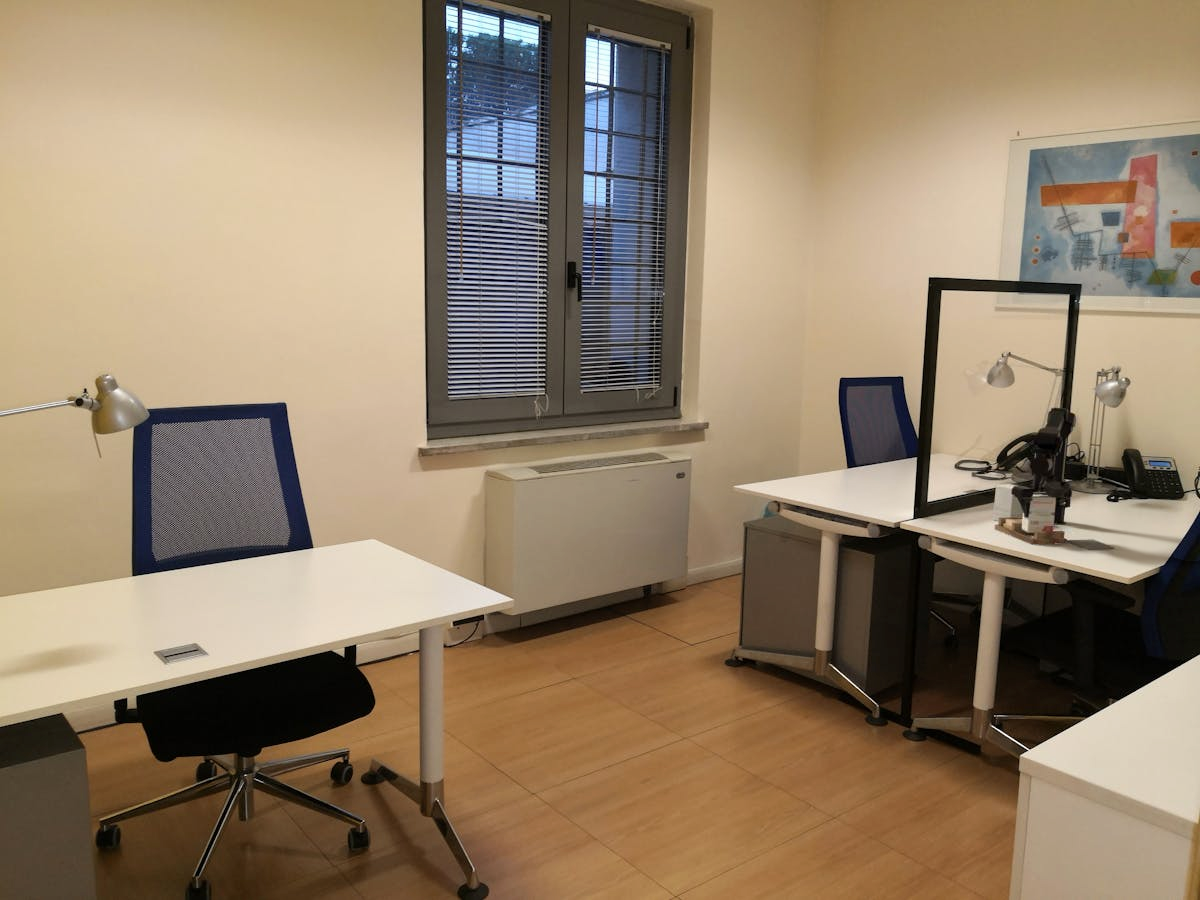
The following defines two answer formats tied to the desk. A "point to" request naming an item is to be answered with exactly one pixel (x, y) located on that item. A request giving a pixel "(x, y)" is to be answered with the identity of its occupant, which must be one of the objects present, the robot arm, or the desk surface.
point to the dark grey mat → (1090, 544)
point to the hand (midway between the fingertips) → (1039, 517)
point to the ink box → (1040, 514)
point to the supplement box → (1006, 503)
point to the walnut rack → (1015, 529)
